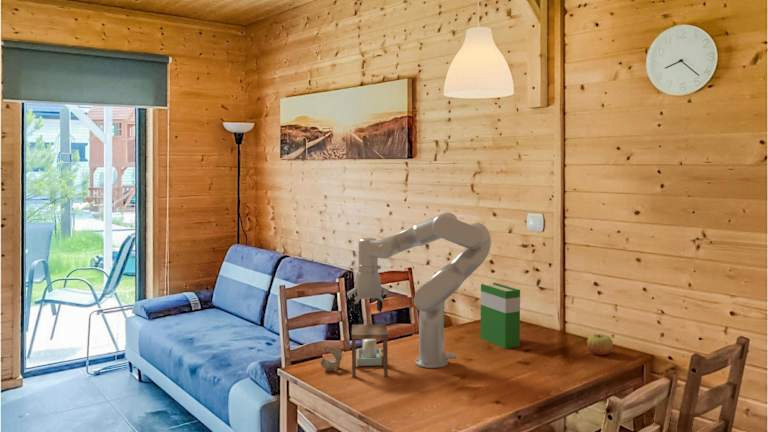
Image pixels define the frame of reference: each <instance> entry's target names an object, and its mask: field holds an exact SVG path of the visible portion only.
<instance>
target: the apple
mask: <svg viewBox="0 0 768 432" xmlns="http://www.w3.org/2000/svg"><path fill="white" fill-rule="evenodd" d="M586 341H587V342H586V345H587V349H588V351H589V352H590V353H592V354H594V355H597V356H607V355H609V354H610V353H611V352H612V351H613V346H614V344H613V340H612V338H611V337H609V336H608V335H606V334H603V333H602V334H601V333H597V334H595V333H594V334H591V335H590V336H589V337H587V340H586Z"/></svg>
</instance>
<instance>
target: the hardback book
mask: <svg viewBox="0 0 768 432" xmlns="http://www.w3.org/2000/svg"><path fill="white" fill-rule="evenodd" d="M520 321H521V289H517V288H515V287H511V286H509V285H508V286H507V285H505V284H500V283H498V282H493V283H492V284H489V285H487V284H483V283H481V284H480V335H479V336H480V339H483V340H484V341H487V342H489V343H491V344H494V345H496V346H498V347H500V348H503V349H511V348H517V347H520V338H521V337H520V334H521V333H520V329H521V326H520V324H521V322H520Z"/></svg>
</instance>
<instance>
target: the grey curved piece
mask: <svg viewBox="0 0 768 432" xmlns="http://www.w3.org/2000/svg"><path fill="white" fill-rule="evenodd" d="M328 351H329V353H330V354H331V355H332V356H333V357H334V359H333V358H327V359H325V358H321V360H320V365H321V367H322V368H323V369H324V371H326V372H328V371H329V372H330V371H331V372H335V373H337V370H338V369H340V366H341V361H342V360H343V359H342V358H343V353H342V351H341V350H340V349H339V348H337V347H336V346H332V345H331V346H330V347H329V348H328Z"/></svg>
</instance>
